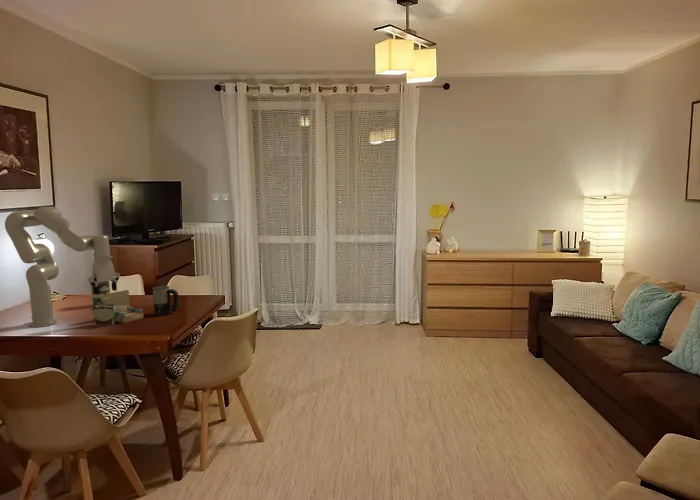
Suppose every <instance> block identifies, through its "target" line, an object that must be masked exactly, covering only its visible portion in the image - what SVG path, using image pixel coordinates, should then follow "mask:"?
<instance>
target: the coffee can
mask: <svg viewBox="0 0 700 500" xmlns="http://www.w3.org/2000/svg"><path fill="white" fill-rule="evenodd" d="M98 287H99V294H95V293H94V287H93V286H92V285H91V284H90V290H91V291H90V292H91V303H92V306H95V305H100V304H104V296H103V294H108V293H111V290H110V289H111V288H110V281H105V282H99V284H98Z"/></svg>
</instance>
